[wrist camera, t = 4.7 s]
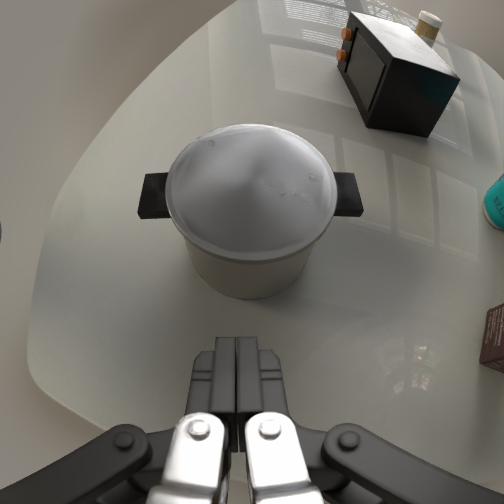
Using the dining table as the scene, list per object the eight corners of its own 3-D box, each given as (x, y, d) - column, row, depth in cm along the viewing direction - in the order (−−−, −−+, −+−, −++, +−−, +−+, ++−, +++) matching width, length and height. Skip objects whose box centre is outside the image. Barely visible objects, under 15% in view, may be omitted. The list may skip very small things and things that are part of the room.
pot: (161, 303, 23) (122, 262, 15) (172, 194, 27) (152, 128, 19) (338, 299, 23) (382, 258, 15) (322, 192, 28) (345, 128, 20)
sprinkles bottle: (402, 58, 44) (419, 8, 32) (421, 66, 44) (441, 18, 31) (403, 65, 42) (422, 12, 30) (423, 75, 42) (445, 23, 30)
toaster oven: (358, 126, 32) (384, 54, 22) (330, 65, 39) (343, 9, 29) (427, 138, 33) (460, 79, 23) (389, 76, 39) (408, 26, 29)
